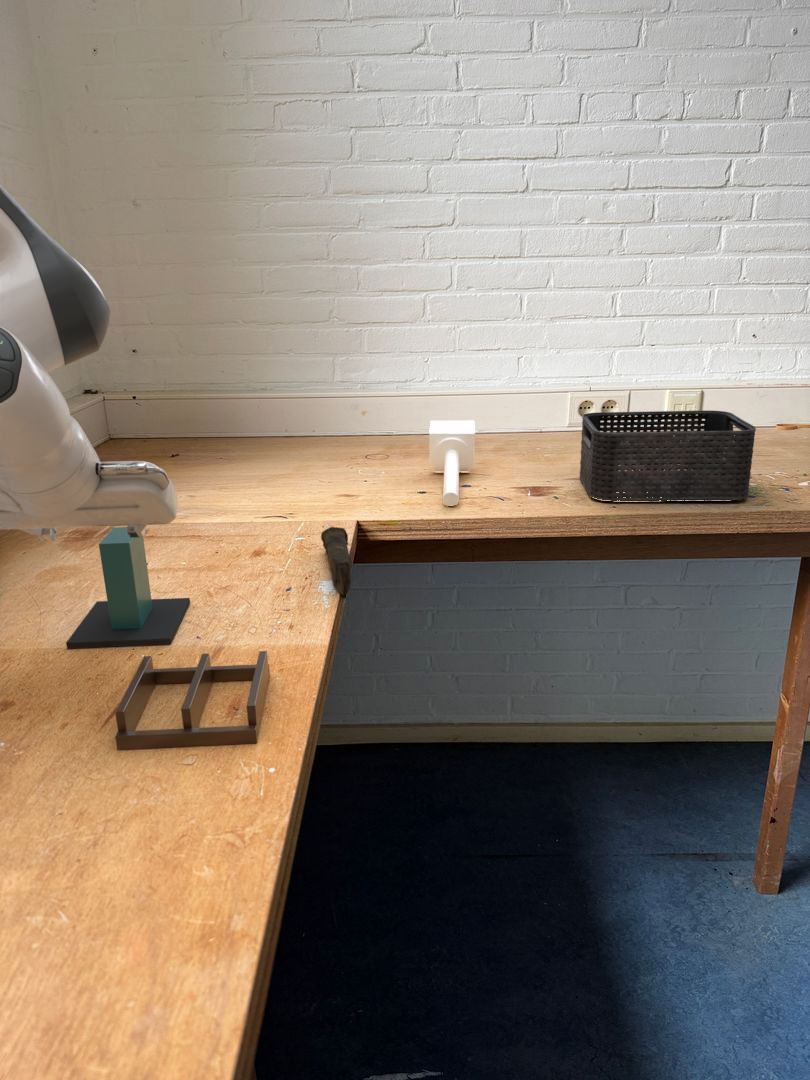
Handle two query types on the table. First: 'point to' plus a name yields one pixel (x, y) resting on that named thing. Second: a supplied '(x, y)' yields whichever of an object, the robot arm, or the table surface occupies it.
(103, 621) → the rubber mat
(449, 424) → the paper towel holder
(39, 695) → the table surface
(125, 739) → the slot rack
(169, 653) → the table surface
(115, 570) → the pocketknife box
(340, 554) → the hand tool
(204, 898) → the table surface
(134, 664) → the table surface
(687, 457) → the storage bin
